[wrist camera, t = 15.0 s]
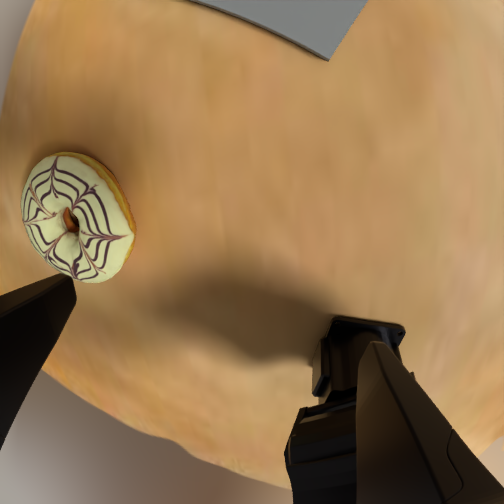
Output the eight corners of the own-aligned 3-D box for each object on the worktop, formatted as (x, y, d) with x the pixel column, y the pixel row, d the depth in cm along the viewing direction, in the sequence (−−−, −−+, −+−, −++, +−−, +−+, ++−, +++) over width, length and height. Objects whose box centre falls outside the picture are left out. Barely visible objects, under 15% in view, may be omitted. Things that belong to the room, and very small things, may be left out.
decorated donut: (100, 287, 26) (79, 311, 23) (29, 204, 23) (3, 220, 20) (167, 223, 22) (145, 246, 19) (79, 120, 19) (46, 129, 16)
